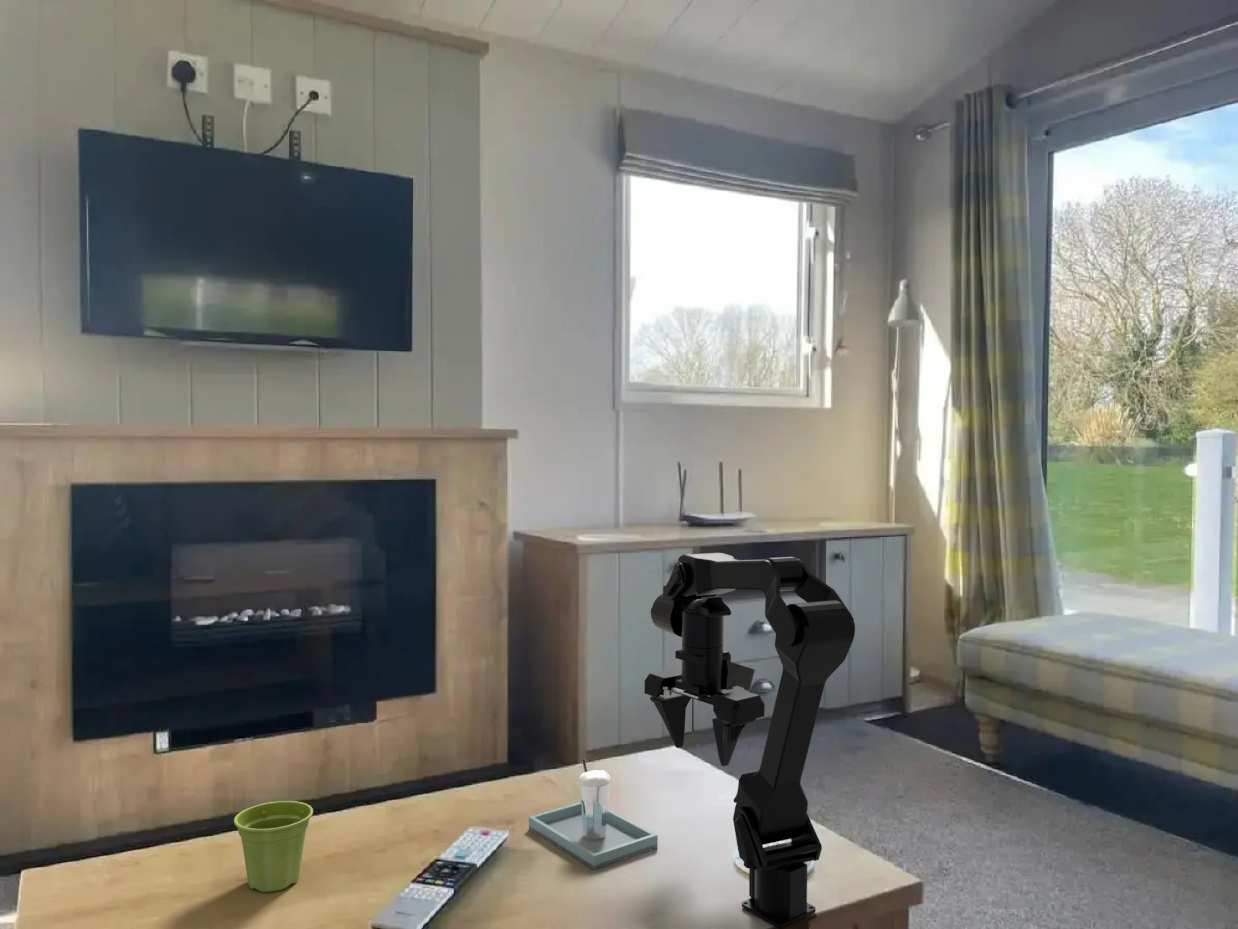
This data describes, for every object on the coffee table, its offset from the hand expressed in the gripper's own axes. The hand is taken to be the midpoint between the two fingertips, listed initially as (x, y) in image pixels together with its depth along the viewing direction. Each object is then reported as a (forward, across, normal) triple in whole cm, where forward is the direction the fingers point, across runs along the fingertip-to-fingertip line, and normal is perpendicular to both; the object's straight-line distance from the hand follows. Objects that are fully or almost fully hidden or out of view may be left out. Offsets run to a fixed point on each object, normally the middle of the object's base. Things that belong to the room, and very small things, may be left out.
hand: (701, 756), depth 127 cm
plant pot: (+13, +26, +50) cm, 58 cm away
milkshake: (+13, +12, +10) cm, 20 cm away
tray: (+13, +12, +10) cm, 20 cm away
